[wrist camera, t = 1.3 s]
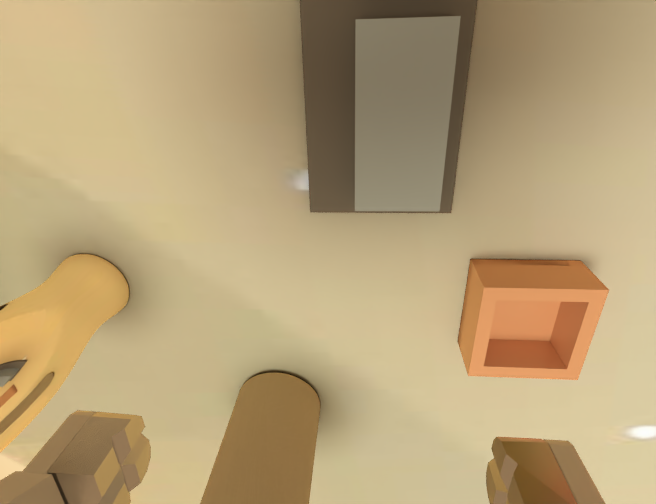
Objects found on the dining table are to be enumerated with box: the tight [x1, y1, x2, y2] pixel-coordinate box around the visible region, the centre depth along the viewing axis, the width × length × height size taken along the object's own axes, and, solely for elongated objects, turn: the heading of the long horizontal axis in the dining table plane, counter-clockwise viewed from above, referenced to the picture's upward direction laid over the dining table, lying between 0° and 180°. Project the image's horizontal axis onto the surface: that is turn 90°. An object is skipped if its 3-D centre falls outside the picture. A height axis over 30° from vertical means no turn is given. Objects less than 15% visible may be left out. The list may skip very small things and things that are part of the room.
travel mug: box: [200, 373, 320, 504], centre depth 32 cm, size 8×8×18 cm
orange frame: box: [458, 259, 609, 380], centre depth 31 cm, size 8×8×4 cm
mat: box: [300, 0, 477, 213], centre depth 23 cm, size 26×10×1 cm, turn 2°
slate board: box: [355, 16, 461, 211], centre depth 25 cm, size 11×6×2 cm, turn 2°
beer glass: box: [0, 254, 129, 453], centre depth 28 cm, size 7×7×15 cm
